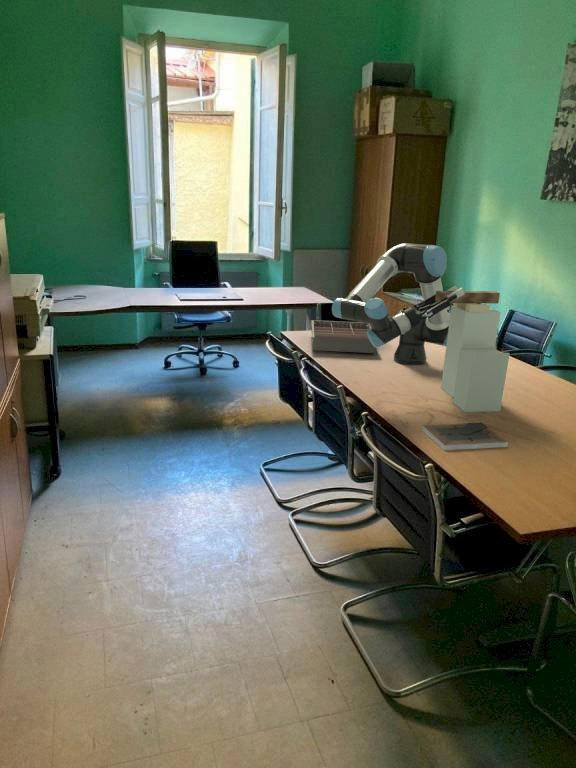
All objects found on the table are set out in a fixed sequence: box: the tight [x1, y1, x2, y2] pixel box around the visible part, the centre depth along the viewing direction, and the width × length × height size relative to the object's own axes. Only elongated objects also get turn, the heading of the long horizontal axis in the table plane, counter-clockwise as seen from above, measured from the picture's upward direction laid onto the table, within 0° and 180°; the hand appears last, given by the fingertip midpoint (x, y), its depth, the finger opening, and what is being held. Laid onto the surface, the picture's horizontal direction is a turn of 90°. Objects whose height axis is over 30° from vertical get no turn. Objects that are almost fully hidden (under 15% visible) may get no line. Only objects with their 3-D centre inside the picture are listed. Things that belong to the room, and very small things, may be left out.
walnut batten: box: [435, 290, 501, 304], centre depth 217 cm, size 24×4×4 cm, turn 101°
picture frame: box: [421, 421, 509, 451], centre depth 186 cm, size 16×2×22 cm
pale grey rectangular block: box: [452, 345, 511, 413], centre depth 211 cm, size 14×10×22 cm
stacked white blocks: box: [440, 303, 501, 398], centre depth 224 cm, size 14×13×38 cm
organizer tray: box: [310, 319, 377, 354], centre depth 296 cm, size 32×40×10 cm
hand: (460, 289), depth 216 cm, fingers closed on walnut batten, 4 cm apart
